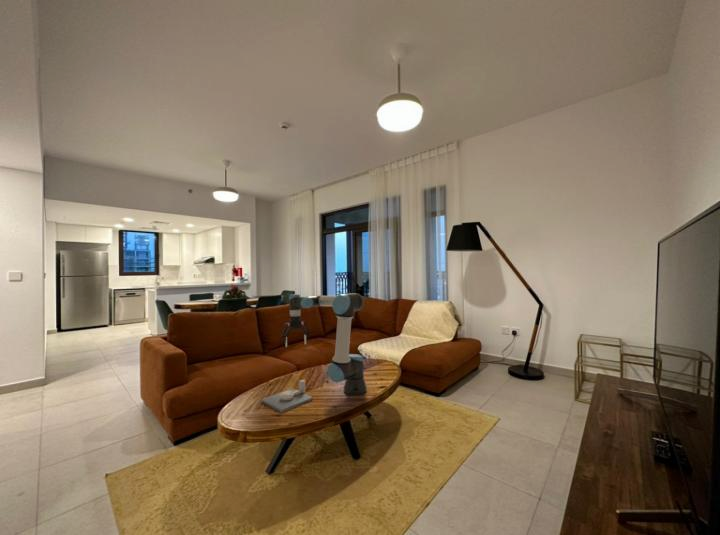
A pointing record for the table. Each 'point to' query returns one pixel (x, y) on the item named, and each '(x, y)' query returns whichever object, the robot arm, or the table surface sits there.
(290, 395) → the locking lever
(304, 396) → the lock base
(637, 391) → the table surface
